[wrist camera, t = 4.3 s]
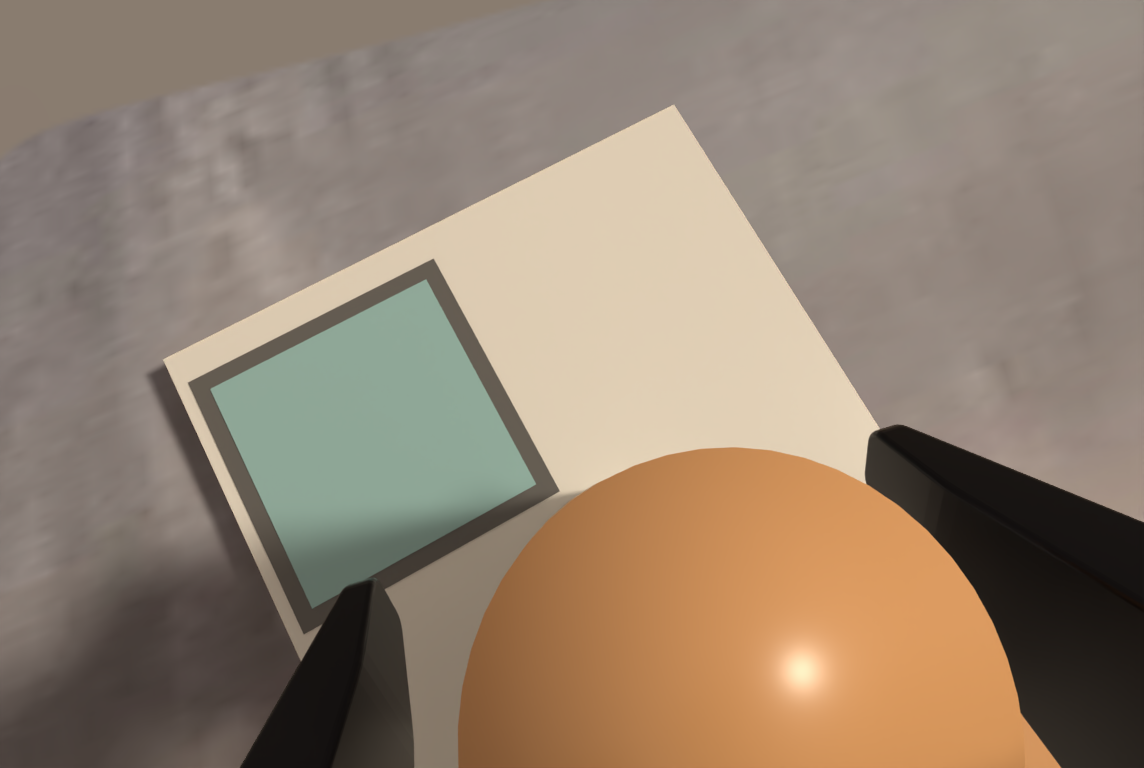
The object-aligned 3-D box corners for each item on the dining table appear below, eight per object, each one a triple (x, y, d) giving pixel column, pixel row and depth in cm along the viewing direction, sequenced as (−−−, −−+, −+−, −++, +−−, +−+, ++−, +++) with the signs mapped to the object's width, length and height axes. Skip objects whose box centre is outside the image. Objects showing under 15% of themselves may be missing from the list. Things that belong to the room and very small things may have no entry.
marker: (584, 712, 14) (638, 1198, 4) (494, 538, 15) (361, 616, 5) (748, 614, 15) (1140, 851, 5) (654, 448, 15) (826, 354, 5)
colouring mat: (597, 1259, 13) (600, 1322, 12) (186, 368, 16) (161, 359, 15) (1139, 877, 15) (1184, 906, 14) (667, 126, 18) (674, 103, 17)
